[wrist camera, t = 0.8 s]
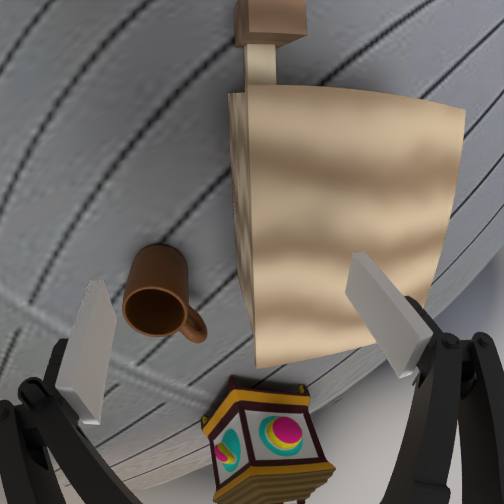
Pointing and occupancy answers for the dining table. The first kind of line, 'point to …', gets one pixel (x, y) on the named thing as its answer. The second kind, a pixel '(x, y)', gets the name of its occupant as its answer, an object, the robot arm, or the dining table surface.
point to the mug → (161, 296)
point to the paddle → (266, 34)
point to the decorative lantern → (264, 447)
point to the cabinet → (334, 206)
